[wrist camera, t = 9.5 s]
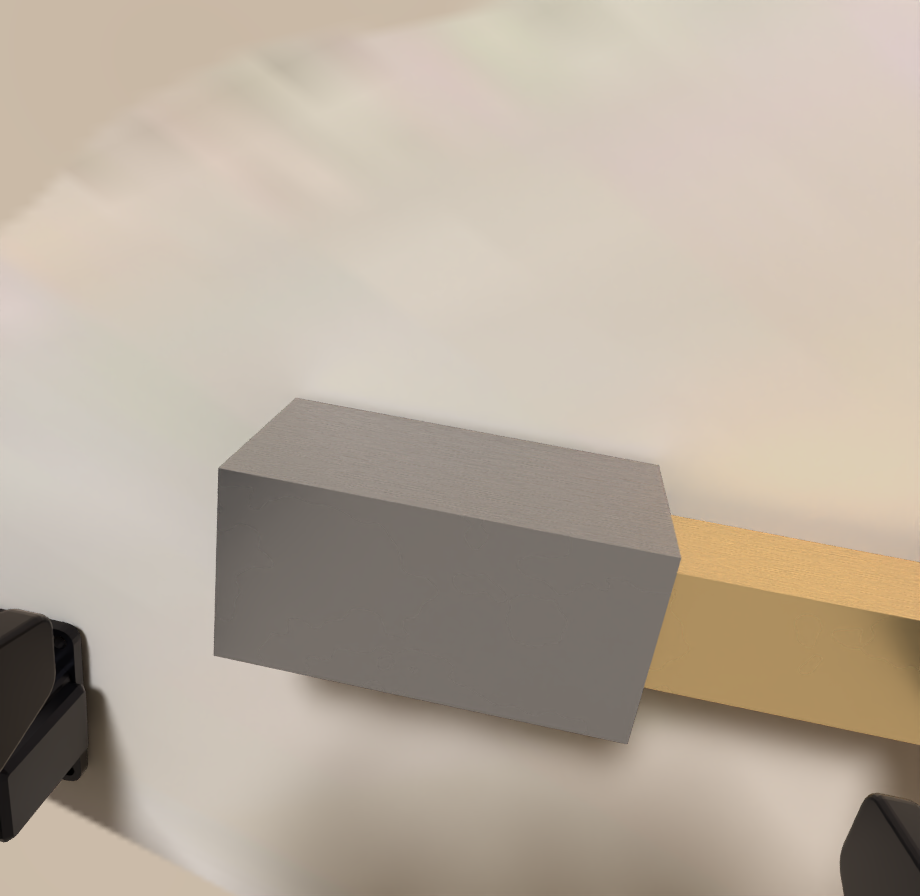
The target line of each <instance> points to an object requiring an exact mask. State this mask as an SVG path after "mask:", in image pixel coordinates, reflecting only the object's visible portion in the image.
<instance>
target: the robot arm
mask: <svg viewBox="0 0 920 896" xmlns="http://www.w3.org/2000/svg"><path fill="white" fill-rule="evenodd" d="M61 637H62V638H63V639H64V640H65V641H64V640H63V639H62V638H61ZM88 744H89V743H88V725H87V706H86V692H85V689H84V687H83V669H82V650H81V637H80V633H79V632H78V630H77V629H76V628H75V627H74V626H72V625H71V624H68V623H65V622H60V621H56V620H51V619H49V618H48V617H46V616H45V615H43V614H39V613H34V612H29V611H25V610H20V609H9V610H4V609H0V841H1V842H8V841H9V840H11V839H12V838H14V837H15V836H16V835H17V834H18V833H19V831H20V830H21V829H22V828H23V827H24V825H25V824H26V823H27V822H28V820H29V819H30V818H31V817H32V815H33V814H34V813H35V812H36V810H37V809H38V808H39V807H40V806H41V804H42V803H43V802H44V801H45V799H46V798H47V797H48V796H49V794H50V793H51V792H52V791H53V790H54V788H55V787H56V786H57V785H58V783H59V782H60V781H61V780H62V779H64V780H68V781H75V780H78V779H79V778H80V777H81V775H82V774H83V773H84V772H85V770H86V769H87V766H88V761H87V747H88ZM840 874H841V880H842V886H843V892H844V896H920V806H918V805H917V804H916V803H914V802H913V801H910V800H908V799H904V798H899V797H894V796H890V795H885V794H880V793H873V794H870V795H868V796H867V797H866V798H865V800H864V801H863V803H862V805H861V807H860V809H859V811H858V814H857V816H856V818H855V820H854V822H853V825H852V827H851V829H850V831H849V833H848V836H847V838H846V840H845V842H844V844H843V847H842V850H841V855H840Z"/></svg>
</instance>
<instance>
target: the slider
mask: <svg viewBox="0 0 920 896" xmlns="http://www.w3.org/2000/svg"><path fill="white" fill-rule="evenodd" d="M671 518H672V522H673V526H674V530H675V534H676V538H677V542H678V546H679V550H680V555H681V561H680V565H679V568H678V572H677V575H676V579H675V582H674V585H673V589H672V592H671V596H670V599H669V603H668V606H667V609H666V613H665V616H664V620H663V623H662V627H661V630H660V634H659V637H658V640H657V644H656V647H655V651H654V654H653V658H652V661H651V665H650V668H649V671H648V675H647V678H646V682H645V685H644V688H649V689H653V690H658V691H663V692H668V693H673V694H677V695H682V696H687V697H692V698H696V699H701V700H706V701H711V702H716V703H720V704H725V705H730V706H735V707H740V708H744V709H749V710H754V711H759V712H764V713H768V714H773V715H778V716H783V717H788V718H792V719H797V720H802V721H807V722H812V723H816V724H821V725H826V726H831V727H836V728H840V729H845V730H850V731H855V732H860V733H864V734H869V735H874V736H879V737H884V738H888V739H893V740H898V741H903V742H908V743H912V744H917V745H920V562H915V561H910V560H905V559H899V558H894V557H889V556H884V555H878V554H873V553H868V552H863V551H857V550H852V549H847V548H842V547H836V546H831V545H826V544H821V543H815V542H810V541H805V540H800V539H794V538H789V537H784V536H779V535H773V534H768V533H763V532H758V531H752V530H747V529H742V528H737V527H732V526H726V525H721V524H716V523H711V522H705V521H700V520H695V519H690V518H684V517H679V516H674V515H671Z"/></svg>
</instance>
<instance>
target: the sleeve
mask: <svg viewBox="0 0 920 896" xmlns="http://www.w3.org/2000/svg"><path fill="white" fill-rule="evenodd" d="M680 561H681V555H680V550H679V546H678V542H677V538H676V534H675V530H674V526H673V522H672V518H671V513H670V509H669V505H668V501H667V497H666V493H665V489H664V485H663V481H662V476H661V472H660V468H659V465H654V464H649V463H644V462H638V461H633V460H628V459H622V458H617V457H611V456H606V455H601V454H595V453H590V452H584V451H579V450H574V449H568V448H563V447H558V446H552V445H547V444H541V443H536V442H531V441H525V440H520V439H515V438H509V437H504V436H498V435H493V434H488V433H482V432H477V431H472V430H466V429H461V428H455V427H450V426H445V425H439V424H434V423H429V422H423V421H418V420H412V419H407V418H402V417H396V416H391V415H386V414H380V413H375V412H369V411H364V410H359V409H353V408H348V407H343V406H337V405H332V404H326V403H321V402H316V401H310V400H305V399H300V398H295V399H294V400H293V401H292V402H291V403H290V404H289V405H287V406H286V407H285V408H284V409H283V410H282V411H281V412H280V413H279V414H278V415H276V416H275V417H274V418H273V419H272V420H271V421H270V422H269V423H268V424H267V425H265V426H264V427H263V428H262V429H261V430H260V431H259V432H258V433H257V434H256V435H254V436H253V437H252V438H251V439H250V440H249V441H248V442H247V443H246V444H244V445H243V446H242V447H241V448H240V449H239V450H238V451H237V452H236V453H235V454H233V455H232V456H231V457H230V458H229V459H228V460H227V461H226V462H225V463H224V464H222V465H221V466H220V467H219V468H218V508H217V547H216V586H215V625H214V656H218V657H223V658H228V659H232V660H237V661H242V662H246V663H251V664H256V665H260V666H265V667H269V668H274V669H279V670H283V671H288V672H293V673H297V674H302V675H307V676H311V677H316V678H321V679H325V680H330V681H335V682H339V683H344V684H349V685H353V686H358V687H363V688H367V689H372V690H377V691H381V692H386V693H391V694H395V695H400V696H405V697H409V698H414V699H419V700H423V701H428V702H433V703H437V704H442V705H447V706H451V707H456V708H461V709H465V710H470V711H475V712H479V713H484V714H489V715H493V716H498V717H503V718H507V719H512V720H517V721H521V722H526V723H531V724H535V725H540V726H544V727H549V728H554V729H558V730H563V731H568V732H572V733H577V734H582V735H586V736H591V737H596V738H600V739H605V740H610V741H614V742H619V743H624V744H628V740H629V737H630V733H631V730H632V726H633V723H634V720H635V716H636V713H637V709H638V706H639V702H640V699H641V695H642V692H643V689H644V685H645V682H646V678H647V675H648V671H649V668H650V665H651V661H652V658H653V654H654V651H655V647H656V644H657V640H658V637H659V634H660V630H661V627H662V623H663V620H664V616H665V613H666V609H667V606H668V603H669V599H670V596H671V592H672V589H673V585H674V582H675V579H676V575H677V572H678V568H679V565H680Z"/></svg>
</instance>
